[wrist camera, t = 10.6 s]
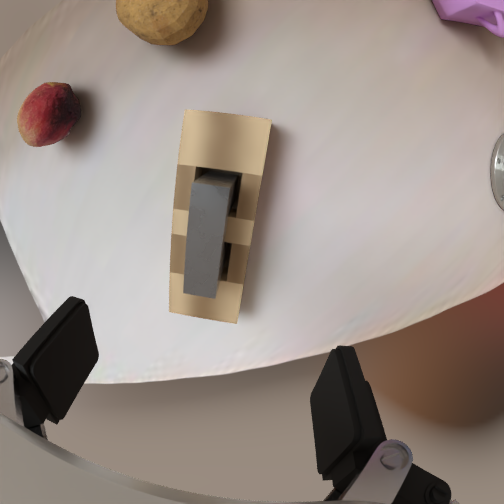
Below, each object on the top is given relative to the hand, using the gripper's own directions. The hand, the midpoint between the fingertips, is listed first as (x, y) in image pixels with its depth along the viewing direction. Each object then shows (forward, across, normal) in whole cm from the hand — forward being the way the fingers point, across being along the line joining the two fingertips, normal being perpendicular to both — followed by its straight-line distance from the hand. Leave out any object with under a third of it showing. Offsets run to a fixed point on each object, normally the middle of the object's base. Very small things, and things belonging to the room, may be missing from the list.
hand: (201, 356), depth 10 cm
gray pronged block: (+22, +3, +2) cm, 22 cm away
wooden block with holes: (+22, +3, +2) cm, 23 cm away
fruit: (+22, +24, -9) cm, 34 cm away
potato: (+23, +12, -22) cm, 34 cm away
